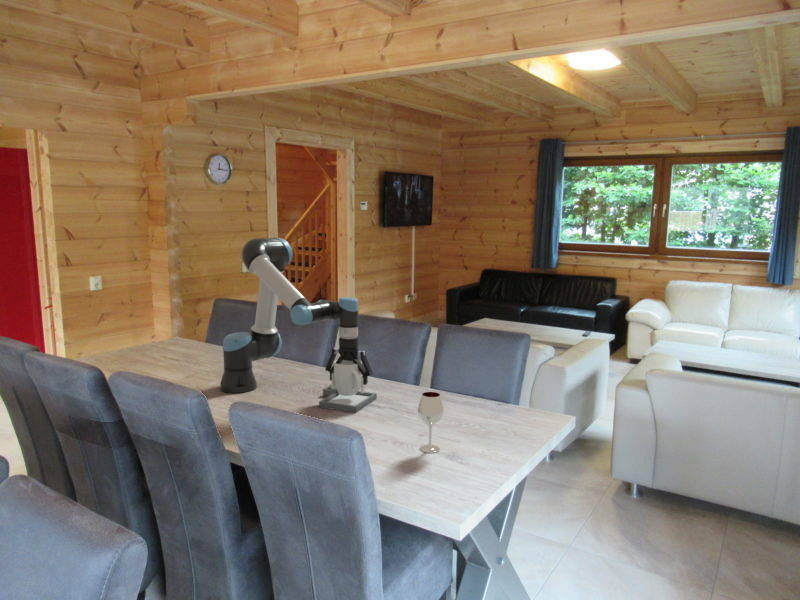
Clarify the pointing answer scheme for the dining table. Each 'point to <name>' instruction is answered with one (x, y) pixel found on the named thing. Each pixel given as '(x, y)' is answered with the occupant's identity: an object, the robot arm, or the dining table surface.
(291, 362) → the dining table surface
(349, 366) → the mug
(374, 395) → the tray
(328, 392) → the grey square frame
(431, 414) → the wineglass
